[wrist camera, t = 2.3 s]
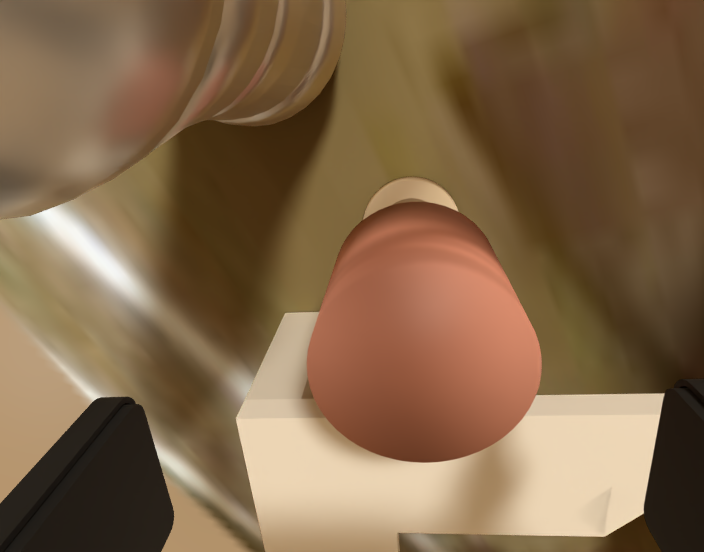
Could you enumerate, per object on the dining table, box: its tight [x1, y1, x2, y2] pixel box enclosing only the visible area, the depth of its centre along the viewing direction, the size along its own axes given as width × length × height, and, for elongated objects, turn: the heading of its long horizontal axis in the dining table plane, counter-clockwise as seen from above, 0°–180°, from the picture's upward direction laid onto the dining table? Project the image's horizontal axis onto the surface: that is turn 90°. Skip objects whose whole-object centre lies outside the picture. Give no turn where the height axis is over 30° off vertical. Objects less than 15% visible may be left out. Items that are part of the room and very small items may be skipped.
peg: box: [307, 177, 542, 463], centre depth 16 cm, size 5×5×11 cm
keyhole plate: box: [236, 312, 665, 552], centre depth 21 cm, size 22×14×8 cm, turn 95°
